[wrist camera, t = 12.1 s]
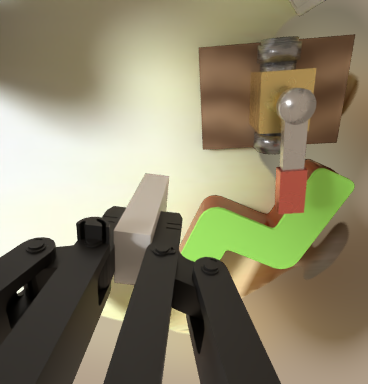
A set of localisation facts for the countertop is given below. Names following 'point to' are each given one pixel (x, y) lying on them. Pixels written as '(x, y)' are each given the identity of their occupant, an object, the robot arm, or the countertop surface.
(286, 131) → the lever
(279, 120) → the valve
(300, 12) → the supplement box
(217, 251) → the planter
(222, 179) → the countertop surface
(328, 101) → the board
